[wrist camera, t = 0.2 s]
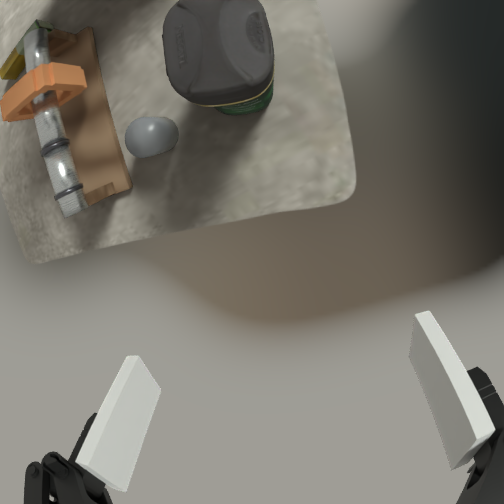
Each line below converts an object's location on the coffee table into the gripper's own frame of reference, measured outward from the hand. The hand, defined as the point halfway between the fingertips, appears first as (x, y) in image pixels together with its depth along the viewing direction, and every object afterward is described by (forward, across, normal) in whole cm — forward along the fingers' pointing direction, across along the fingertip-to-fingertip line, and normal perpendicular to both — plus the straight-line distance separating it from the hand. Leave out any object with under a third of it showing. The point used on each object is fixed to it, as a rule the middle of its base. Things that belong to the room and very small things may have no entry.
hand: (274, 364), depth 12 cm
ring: (+24, -23, +24) cm, 41 cm away
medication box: (+28, -33, +38) cm, 58 cm away
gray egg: (+28, -12, +12) cm, 33 cm away
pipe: (+21, -23, +20) cm, 38 cm away
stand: (+28, -23, +20) cm, 42 cm away
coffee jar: (+28, 0, +17) cm, 33 cm away
